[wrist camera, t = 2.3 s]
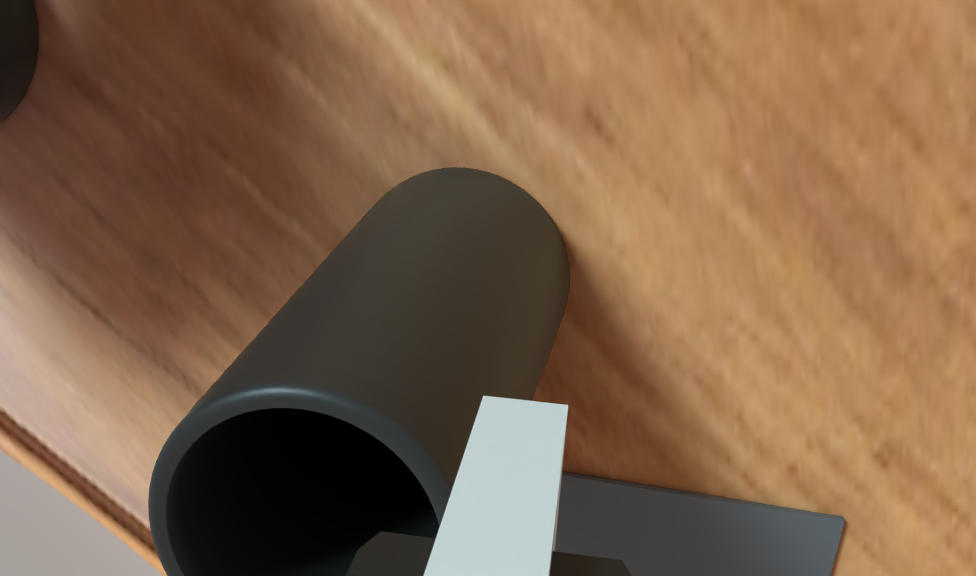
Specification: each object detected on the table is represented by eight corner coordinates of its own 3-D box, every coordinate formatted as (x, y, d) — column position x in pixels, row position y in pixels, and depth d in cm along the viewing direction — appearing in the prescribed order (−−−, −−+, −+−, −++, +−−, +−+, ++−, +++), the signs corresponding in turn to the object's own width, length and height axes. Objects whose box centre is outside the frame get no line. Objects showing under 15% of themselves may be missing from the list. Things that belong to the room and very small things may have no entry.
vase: (328, 192, 55) (36, 378, 27) (543, 145, 52) (454, 300, 25) (386, 391, 58) (179, 730, 31) (589, 357, 56) (557, 697, 28)
